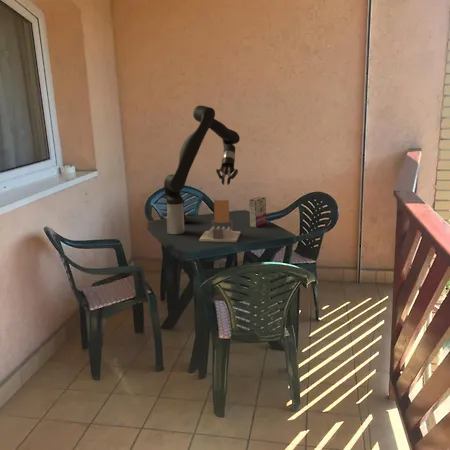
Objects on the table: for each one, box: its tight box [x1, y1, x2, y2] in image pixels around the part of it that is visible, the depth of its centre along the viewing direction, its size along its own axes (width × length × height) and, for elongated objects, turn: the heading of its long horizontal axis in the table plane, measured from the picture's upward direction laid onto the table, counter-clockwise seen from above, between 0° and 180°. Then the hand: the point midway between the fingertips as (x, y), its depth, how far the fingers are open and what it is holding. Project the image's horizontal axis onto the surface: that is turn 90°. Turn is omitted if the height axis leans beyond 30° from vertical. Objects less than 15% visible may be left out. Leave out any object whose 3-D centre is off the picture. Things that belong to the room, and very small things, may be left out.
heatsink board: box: [198, 219, 241, 243], centre depth 271 cm, size 20×17×8 cm
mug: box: [183, 199, 189, 225], centre depth 308 cm, size 18×12×15 cm, turn 16°
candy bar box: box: [248, 196, 267, 228], centre depth 294 cm, size 11×5×16 cm, turn 143°
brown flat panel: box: [213, 199, 230, 224], centre depth 275 cm, size 8×1×13 cm, turn 81°
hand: (225, 183), depth 286 cm, fingers closed
